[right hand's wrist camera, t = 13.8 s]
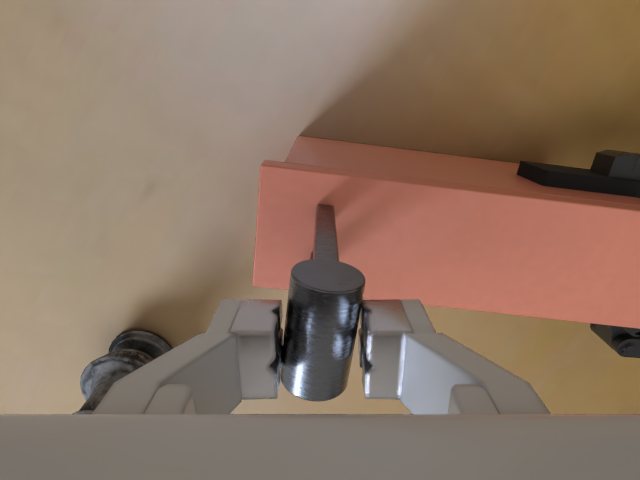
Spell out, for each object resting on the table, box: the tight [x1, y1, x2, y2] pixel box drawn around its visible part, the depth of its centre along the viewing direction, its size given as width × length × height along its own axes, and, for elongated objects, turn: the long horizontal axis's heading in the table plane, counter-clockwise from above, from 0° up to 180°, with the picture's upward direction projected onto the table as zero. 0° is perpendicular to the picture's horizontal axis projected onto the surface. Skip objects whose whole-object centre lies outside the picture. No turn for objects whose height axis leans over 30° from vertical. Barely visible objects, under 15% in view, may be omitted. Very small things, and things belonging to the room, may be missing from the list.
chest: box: [285, 136, 640, 206], centre depth 22 cm, size 17×5×10 cm, turn 83°
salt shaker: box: [73, 331, 172, 414], centre depth 26 cm, size 6×6×12 cm
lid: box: [252, 160, 640, 401], centre depth 14 cm, size 18×5×9 cm, turn 83°
